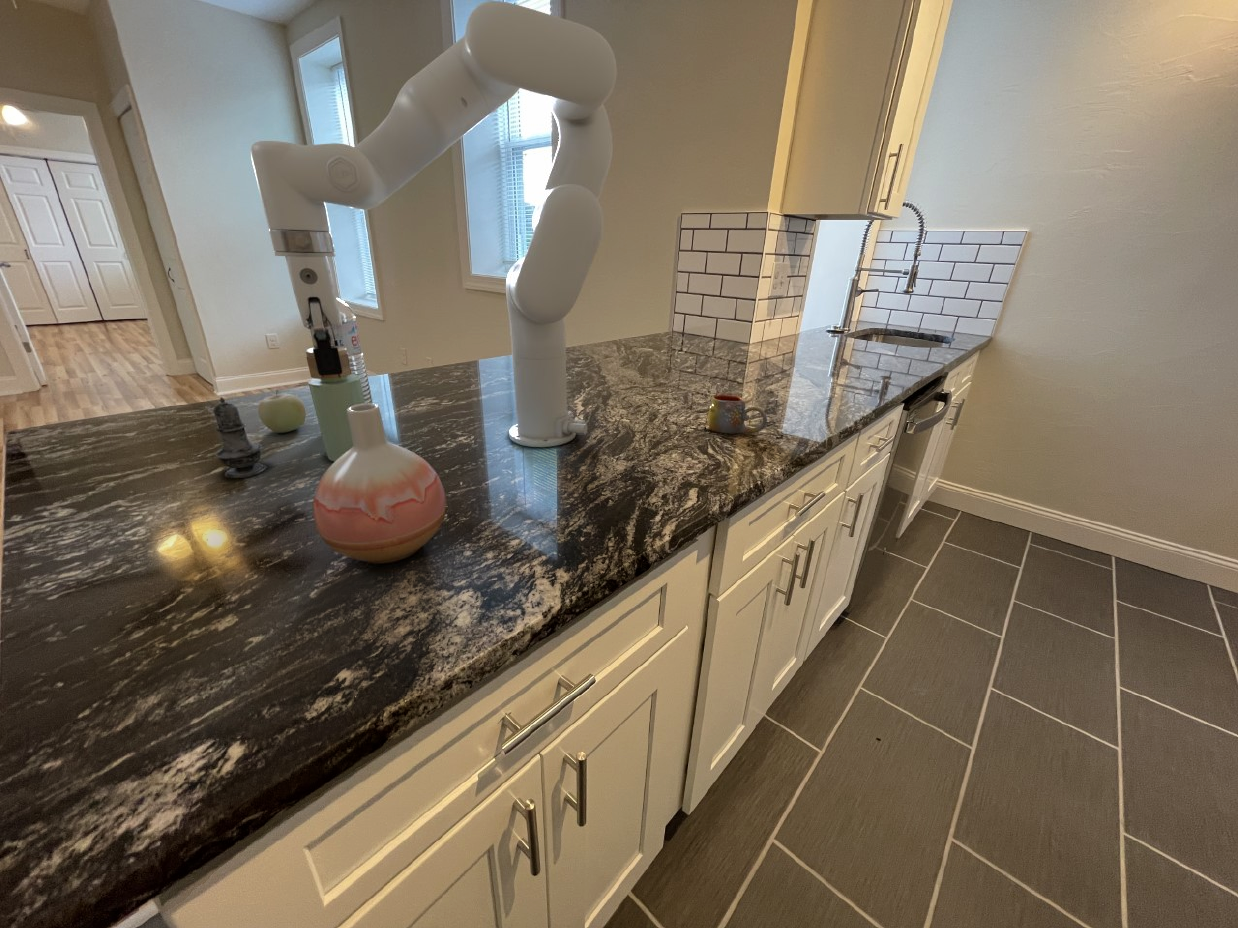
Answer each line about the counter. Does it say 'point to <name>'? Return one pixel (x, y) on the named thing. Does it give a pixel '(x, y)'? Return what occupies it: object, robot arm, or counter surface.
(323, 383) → the ceramic bottle
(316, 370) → the cap
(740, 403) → the mug
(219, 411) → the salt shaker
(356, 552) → the vase
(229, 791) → the counter surface
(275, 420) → the fruit
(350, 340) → the water bottle
